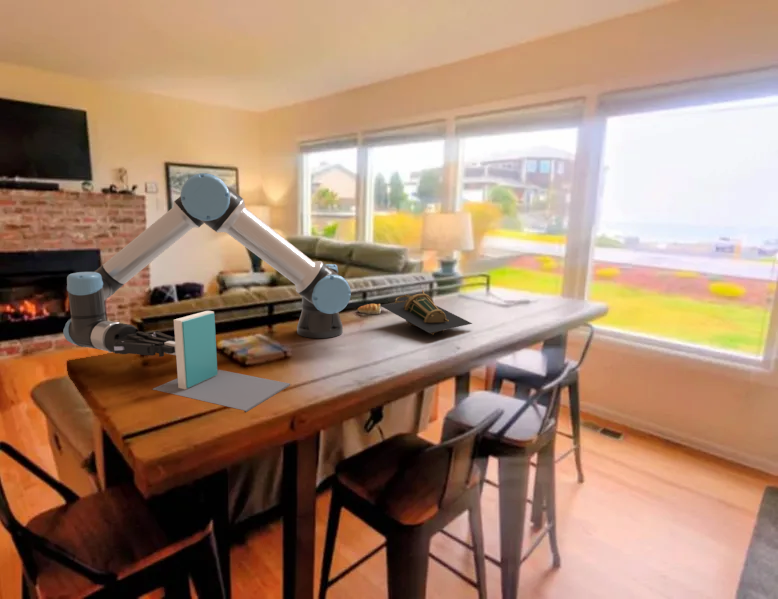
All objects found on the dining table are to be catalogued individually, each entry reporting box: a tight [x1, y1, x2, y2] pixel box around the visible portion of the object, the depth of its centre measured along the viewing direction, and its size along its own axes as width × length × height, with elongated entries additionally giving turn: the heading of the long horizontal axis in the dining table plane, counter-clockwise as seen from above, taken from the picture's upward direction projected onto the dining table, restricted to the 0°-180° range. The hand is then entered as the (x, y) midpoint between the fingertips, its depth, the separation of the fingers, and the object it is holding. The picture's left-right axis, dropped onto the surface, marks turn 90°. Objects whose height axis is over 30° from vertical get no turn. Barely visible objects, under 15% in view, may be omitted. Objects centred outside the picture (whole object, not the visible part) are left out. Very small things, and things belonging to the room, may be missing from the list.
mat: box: [152, 368, 291, 413], centre depth 105 cm, size 26×16×1 cm, turn 68°
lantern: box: [380, 289, 473, 336], centre depth 162 cm, size 14×23×30 cm
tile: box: [173, 310, 218, 389], centre depth 106 cm, size 2×10×16 cm, turn 158°
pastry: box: [357, 303, 382, 315], centre depth 184 cm, size 9×7×4 cm
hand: (188, 350), depth 107 cm, fingers closed
